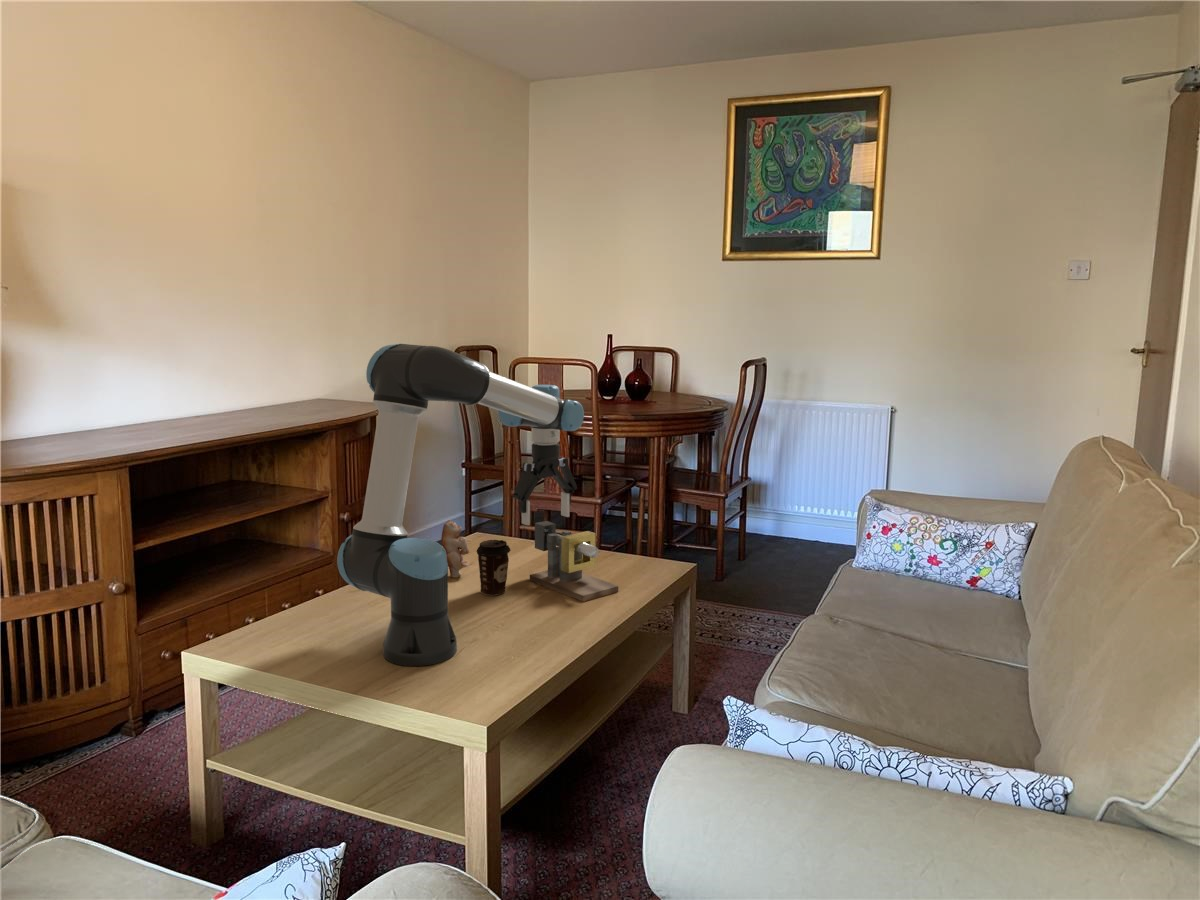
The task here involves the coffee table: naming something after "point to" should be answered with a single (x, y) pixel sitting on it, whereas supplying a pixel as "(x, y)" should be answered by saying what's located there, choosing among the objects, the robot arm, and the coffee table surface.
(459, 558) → the figurine
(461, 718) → the coffee table surface
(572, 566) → the block
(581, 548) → the shaft
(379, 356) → the robot arm
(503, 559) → the coffee cup
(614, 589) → the bearing block
